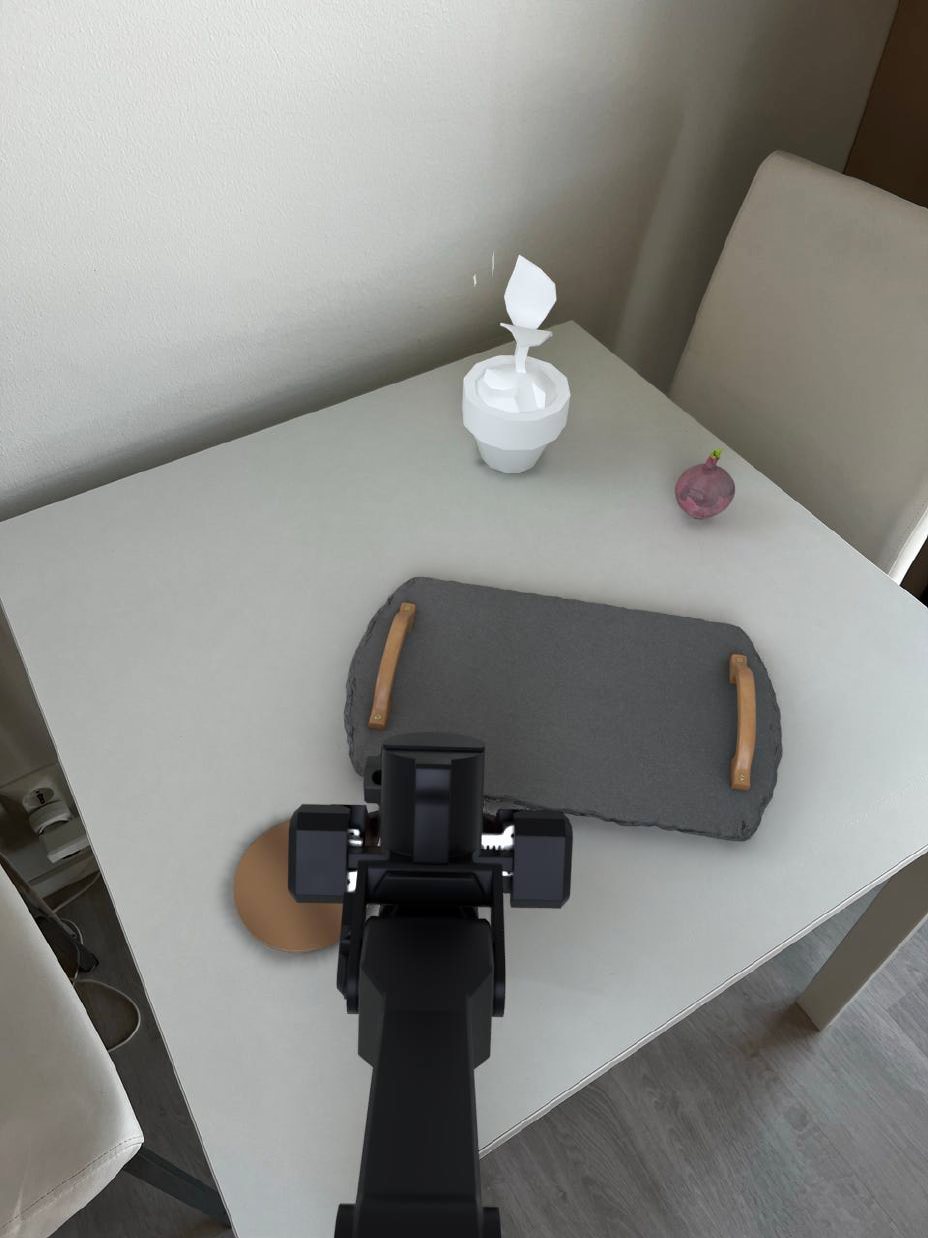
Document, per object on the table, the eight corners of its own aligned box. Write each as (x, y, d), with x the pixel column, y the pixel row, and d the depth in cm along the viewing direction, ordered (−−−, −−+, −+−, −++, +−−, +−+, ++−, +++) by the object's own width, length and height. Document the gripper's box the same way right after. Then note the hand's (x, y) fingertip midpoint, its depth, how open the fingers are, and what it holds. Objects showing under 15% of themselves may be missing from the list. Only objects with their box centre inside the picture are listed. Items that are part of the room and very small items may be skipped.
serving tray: (768, 647, 92) (788, 606, 87) (779, 866, 78) (803, 832, 73) (379, 586, 95) (377, 544, 90) (319, 787, 80) (313, 749, 76)
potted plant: (469, 417, 112) (480, 214, 93) (566, 432, 111) (598, 231, 92) (446, 488, 105) (454, 282, 85) (551, 505, 103) (582, 302, 84)
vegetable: (659, 522, 102) (679, 451, 95) (680, 489, 106) (701, 418, 98) (712, 544, 101) (737, 474, 93) (732, 510, 104) (757, 439, 96)
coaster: (290, 983, 70) (289, 981, 70) (206, 879, 75) (205, 877, 75) (402, 888, 75) (402, 886, 75) (317, 796, 80) (316, 793, 80)
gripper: (591, 771, 56) (559, 716, 71) (273, 762, 55) (310, 709, 71) (583, 952, 57) (552, 860, 72) (270, 945, 56) (307, 854, 72)
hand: (431, 817), depth 72 cm, fingers open, 8 cm apart
